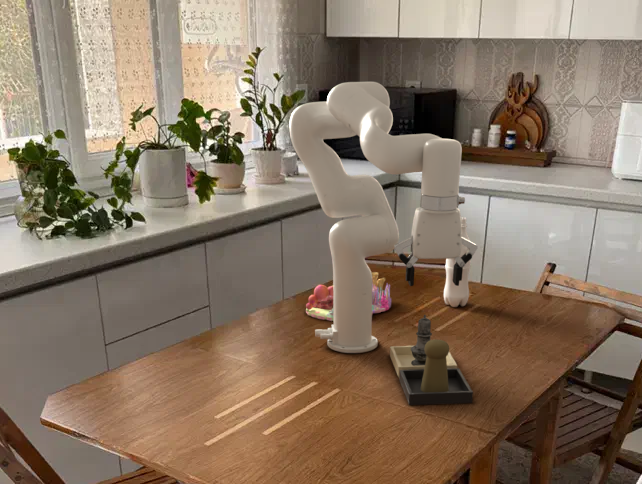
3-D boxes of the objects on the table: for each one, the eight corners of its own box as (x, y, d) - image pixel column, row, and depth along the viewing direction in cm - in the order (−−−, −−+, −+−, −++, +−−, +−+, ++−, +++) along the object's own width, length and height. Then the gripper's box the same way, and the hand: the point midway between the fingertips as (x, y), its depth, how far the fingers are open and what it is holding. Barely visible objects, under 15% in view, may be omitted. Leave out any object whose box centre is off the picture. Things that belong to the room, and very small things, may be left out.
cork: (452, 386, 171) (455, 338, 166) (443, 396, 165) (446, 348, 161) (425, 381, 173) (428, 334, 169) (416, 391, 168) (418, 343, 163)
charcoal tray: (408, 405, 163) (409, 394, 162) (399, 380, 175) (399, 369, 174) (472, 403, 164) (473, 392, 163) (458, 378, 176) (458, 368, 175)
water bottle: (469, 308, 223) (475, 220, 213) (444, 308, 223) (449, 220, 213) (466, 300, 230) (471, 215, 220) (441, 300, 230) (446, 215, 220)
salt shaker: (434, 369, 180) (436, 319, 175) (408, 367, 181) (410, 317, 176) (436, 359, 185) (438, 311, 180) (411, 358, 186) (413, 309, 181)
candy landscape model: (315, 293, 237) (315, 264, 233) (393, 296, 234) (394, 266, 230) (301, 320, 214) (300, 287, 210) (387, 323, 211) (388, 290, 207)
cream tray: (398, 377, 177) (398, 367, 176) (389, 356, 189) (390, 346, 188) (456, 375, 177) (457, 365, 176) (444, 354, 190) (445, 344, 189)
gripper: (476, 199, 163) (469, 278, 170) (394, 199, 161) (390, 279, 169) (485, 206, 156) (477, 289, 163) (399, 206, 155) (395, 289, 162)
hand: (433, 284), depth 166 cm, fingers open, 9 cm apart
